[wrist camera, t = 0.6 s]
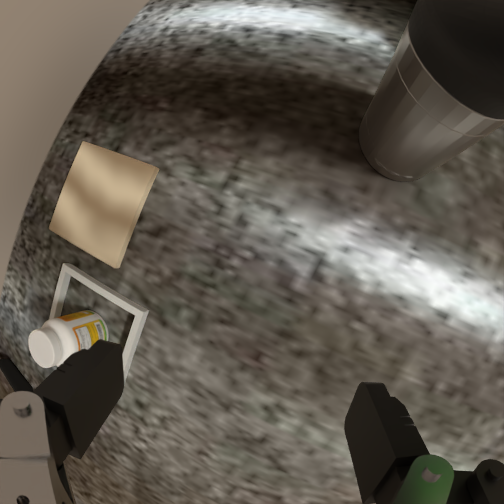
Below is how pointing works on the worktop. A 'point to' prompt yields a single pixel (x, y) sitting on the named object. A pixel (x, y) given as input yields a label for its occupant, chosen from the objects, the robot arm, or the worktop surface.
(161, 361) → the worktop surface
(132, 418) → the worktop surface
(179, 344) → the worktop surface
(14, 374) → the electric trimmer
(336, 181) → the worktop surface
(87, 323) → the supplement bottle
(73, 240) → the pad
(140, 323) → the square frame
